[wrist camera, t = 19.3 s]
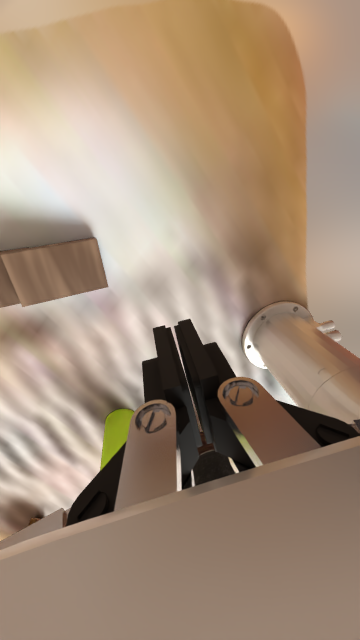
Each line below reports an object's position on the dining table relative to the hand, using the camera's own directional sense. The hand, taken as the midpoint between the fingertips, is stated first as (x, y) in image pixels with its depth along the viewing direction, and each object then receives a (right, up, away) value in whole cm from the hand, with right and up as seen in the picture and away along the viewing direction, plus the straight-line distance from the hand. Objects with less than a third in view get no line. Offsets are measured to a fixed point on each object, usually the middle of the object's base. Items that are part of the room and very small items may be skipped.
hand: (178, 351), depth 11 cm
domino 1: (-10, +9, +21) cm, 25 cm away
